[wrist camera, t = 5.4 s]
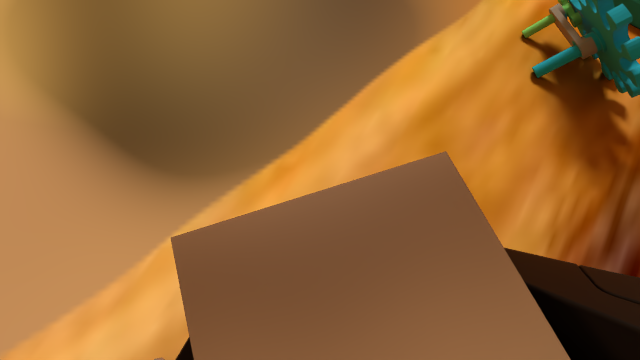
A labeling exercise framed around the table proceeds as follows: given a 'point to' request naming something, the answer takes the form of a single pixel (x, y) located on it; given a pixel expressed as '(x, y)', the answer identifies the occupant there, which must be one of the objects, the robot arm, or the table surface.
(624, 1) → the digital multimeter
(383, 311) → the block
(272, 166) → the table surface
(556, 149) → the table surface
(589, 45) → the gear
